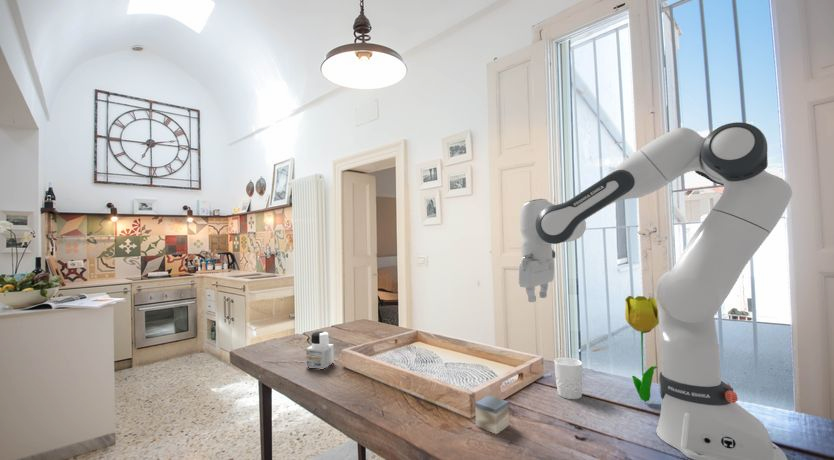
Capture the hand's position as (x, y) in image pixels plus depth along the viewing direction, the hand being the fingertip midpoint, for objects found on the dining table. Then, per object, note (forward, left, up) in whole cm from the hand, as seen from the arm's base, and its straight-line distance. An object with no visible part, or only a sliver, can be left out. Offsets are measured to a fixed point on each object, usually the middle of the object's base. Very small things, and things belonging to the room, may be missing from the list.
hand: (537, 299), depth 109 cm
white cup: (-6, -7, -29) cm, 31 cm away
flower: (-25, -13, -29) cm, 41 cm away
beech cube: (+5, +23, -23) cm, 33 cm away
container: (+80, +19, -29) cm, 87 cm away
